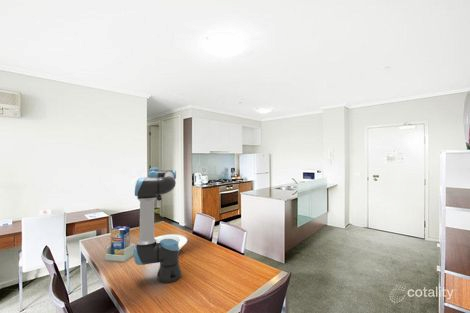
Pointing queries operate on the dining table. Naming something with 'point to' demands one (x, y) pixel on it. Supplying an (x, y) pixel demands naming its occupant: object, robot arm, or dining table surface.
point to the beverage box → (119, 240)
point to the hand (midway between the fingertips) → (154, 209)
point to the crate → (119, 258)
